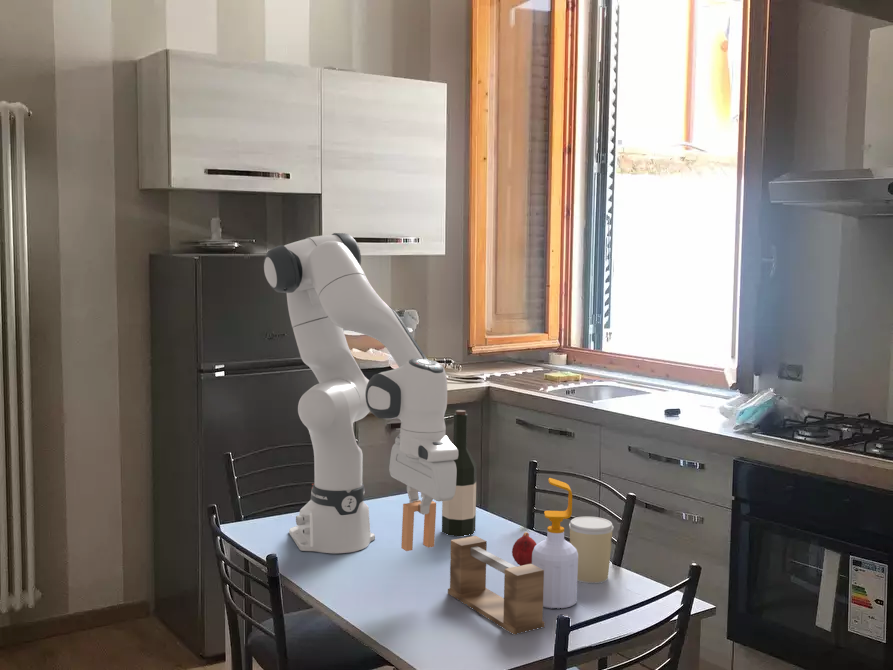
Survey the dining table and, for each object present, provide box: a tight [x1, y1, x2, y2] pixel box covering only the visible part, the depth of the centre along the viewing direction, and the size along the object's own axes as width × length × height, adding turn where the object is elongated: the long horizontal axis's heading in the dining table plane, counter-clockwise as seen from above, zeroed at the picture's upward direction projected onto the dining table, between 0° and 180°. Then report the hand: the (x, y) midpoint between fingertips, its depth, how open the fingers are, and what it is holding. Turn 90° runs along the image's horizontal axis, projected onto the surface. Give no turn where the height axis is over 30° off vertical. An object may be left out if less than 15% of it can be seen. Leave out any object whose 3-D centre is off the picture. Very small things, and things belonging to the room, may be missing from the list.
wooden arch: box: [401, 500, 437, 552], centre depth 188 cm, size 2×6×9 cm, turn 122°
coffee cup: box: [568, 515, 614, 584], centre depth 202 cm, size 9×9×12 cm
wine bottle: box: [441, 409, 478, 537], centre depth 231 cm, size 8×8×30 cm
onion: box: [511, 531, 538, 566], centre depth 207 cm, size 6×6×8 cm
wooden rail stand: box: [447, 535, 546, 635], centre depth 183 cm, size 23×7×11 cm, turn 31°
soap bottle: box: [532, 477, 578, 610], centre depth 187 cm, size 9×9×25 cm
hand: (419, 510), depth 187 cm, fingers closed on wooden arch, 2 cm apart
